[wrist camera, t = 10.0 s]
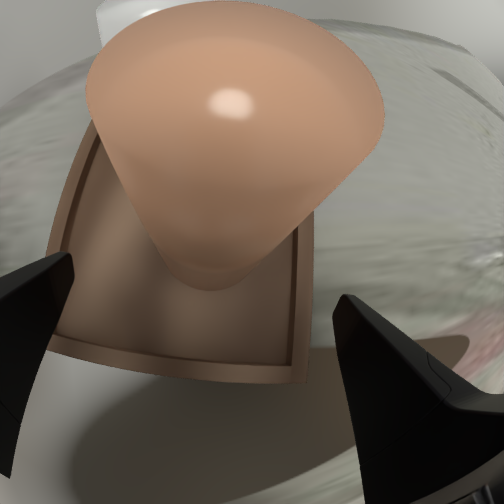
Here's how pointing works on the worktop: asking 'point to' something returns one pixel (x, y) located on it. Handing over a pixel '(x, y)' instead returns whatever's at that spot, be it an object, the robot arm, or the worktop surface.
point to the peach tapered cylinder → (229, 129)
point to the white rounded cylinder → (128, 14)
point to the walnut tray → (172, 293)
